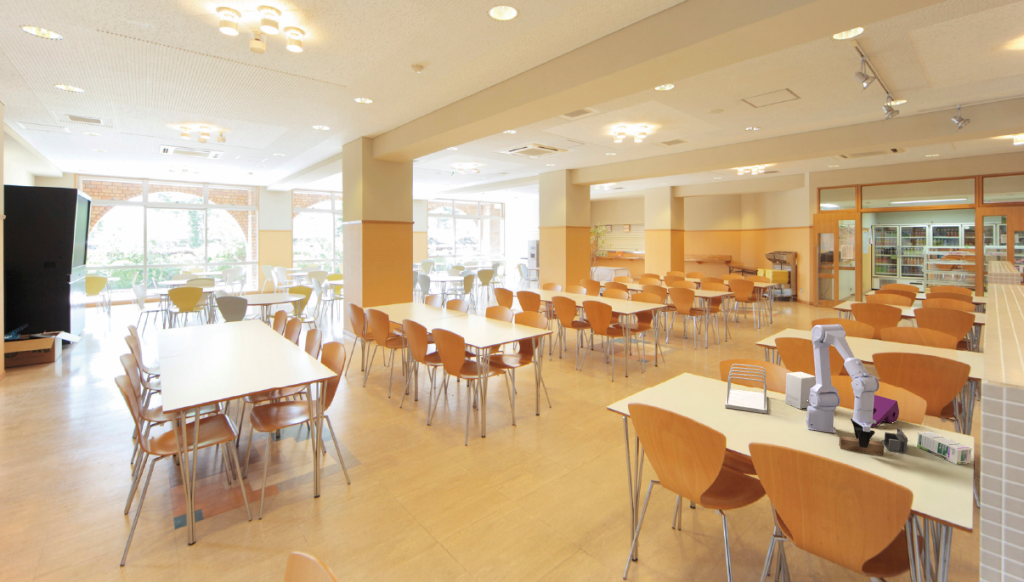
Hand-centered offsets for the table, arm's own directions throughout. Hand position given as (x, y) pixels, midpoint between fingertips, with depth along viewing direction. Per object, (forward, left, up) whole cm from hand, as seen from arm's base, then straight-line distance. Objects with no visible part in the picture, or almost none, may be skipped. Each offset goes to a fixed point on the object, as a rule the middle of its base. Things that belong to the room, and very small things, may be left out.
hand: (861, 442), depth 176 cm
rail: (0, 0, -3) cm, 3 cm away
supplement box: (-16, +43, -3) cm, 46 cm away
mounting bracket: (+10, +34, -3) cm, 36 cm away
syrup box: (+22, +14, 0) cm, 26 cm away
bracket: (+11, +8, -3) cm, 14 cm away
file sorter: (-39, +38, -3) cm, 54 cm away
